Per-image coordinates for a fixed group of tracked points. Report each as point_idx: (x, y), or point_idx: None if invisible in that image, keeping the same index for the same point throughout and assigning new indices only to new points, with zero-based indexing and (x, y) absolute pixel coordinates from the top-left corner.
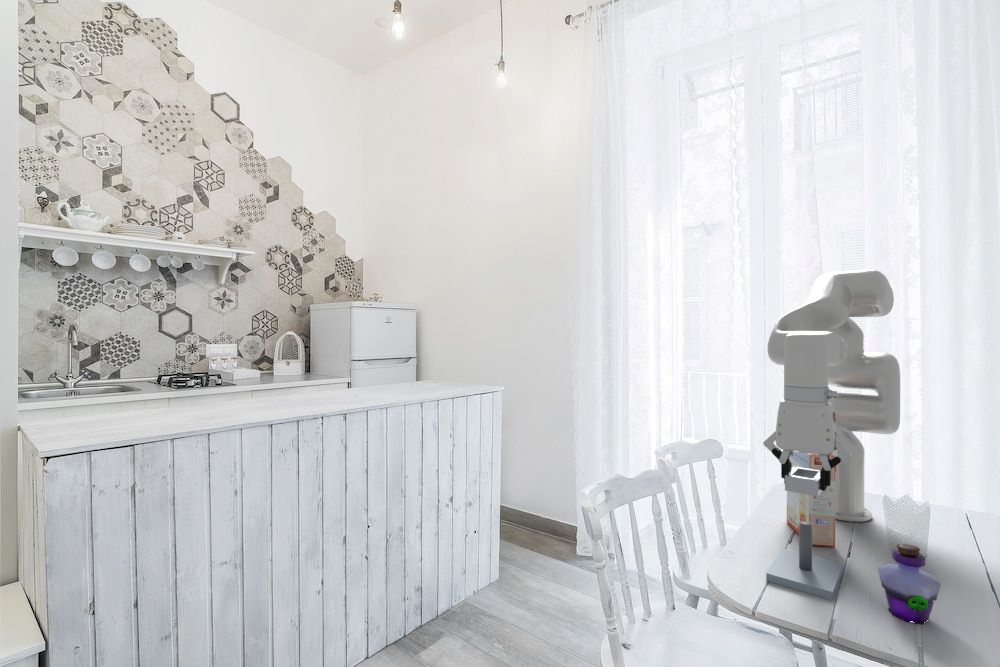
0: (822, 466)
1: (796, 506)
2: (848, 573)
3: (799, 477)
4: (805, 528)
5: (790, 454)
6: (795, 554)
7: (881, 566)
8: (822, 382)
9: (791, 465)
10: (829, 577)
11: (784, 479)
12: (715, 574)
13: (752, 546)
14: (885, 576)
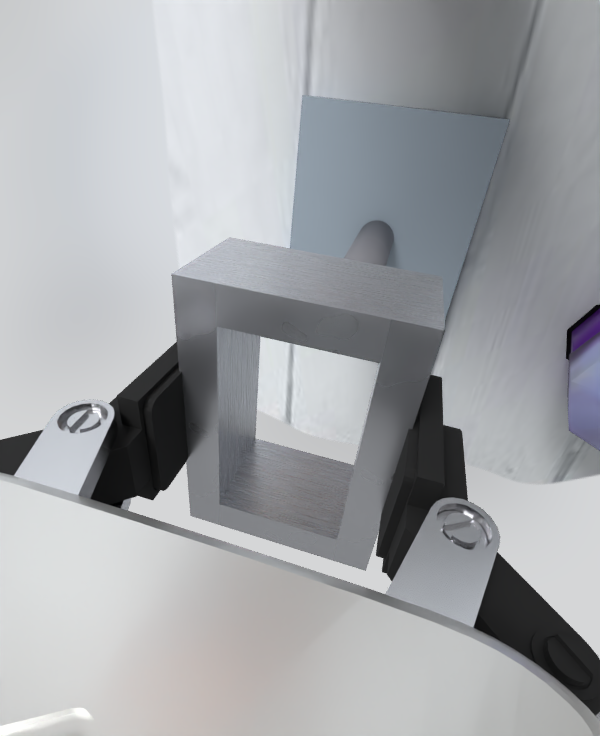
0: (390, 577)
1: None
2: (519, 131)
3: (264, 536)
4: None
5: (94, 465)
6: (346, 134)
7: (590, 369)
8: None
9: (165, 390)
10: (438, 269)
11: None
12: None
13: (211, 74)
14: (572, 430)
